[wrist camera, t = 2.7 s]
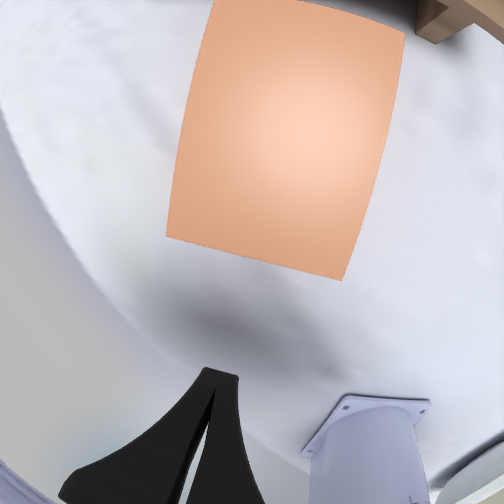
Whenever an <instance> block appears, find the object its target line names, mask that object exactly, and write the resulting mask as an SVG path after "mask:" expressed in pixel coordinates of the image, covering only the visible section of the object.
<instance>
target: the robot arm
mask: <svg viewBox="0 0 504 504" xmlns="http://www.w3.org/2000/svg"><path fill="white" fill-rule="evenodd" d="M238 381H239V377H238V376H237V375H234V374H230V373H226V372H222V371H219V370H215V369H211V368H208V367H205V368H203V369H202V371H201V373H200V374H199V376H198V377H197V379H196V380H195V382H194V383H193V384H192V386H191V387H190V388H189V389H188V391H187V392H186V393H185V394H184V395H183V396H182V398H181V399H180V400H179V401H178V402H177V403H176V404H175V405H174V406H173V407H172V409H170V411H168V412H167V413H166V414H165V415H164V416H163V417H162V418H161V419H160V420H159V421H158V422H156V423H155V424H154V425H153V426H152V427H151V428H149V429H148V430H147V431H145V432H144V433H143V434H142V435H140V436H139V437H137V438H136V439H135V440H133V441H132V442H130V443H129V444H127V445H126V446H124V447H122V448H121V449H119V450H117V451H115V452H114V453H112V454H110V455H108V456H106V457H104V458H103V459H101V460H98V461H96V462H94V463H92V464H89V465H87V466H85V467H82V468H80V469H77V470H75V471H74V472H73V473H72V474H71V475H70V476H69V477H68V478H67V480H66V481H65V482H64V484H63V486H62V488H61V490H60V492H59V494H58V497H59V498H60V499H61V500H63V501H64V502H66V503H67V504H178V503H179V500H180V496H181V493H182V490H183V487H184V483H185V480H186V477H187V474H188V470H189V468H190V465H191V462H192V460H193V458H194V455H195V453H196V451H197V448H198V446H199V444H200V441H201V439H202V437H203V434H204V432H205V429H206V427H207V425H208V429H207V435H206V440H205V445H204V449H203V452H202V455H201V458H200V462H199V464H198V468H197V471H196V474H195V477H194V480H193V483H192V486H191V489H190V493H189V496H188V499H187V502H186V504H265V502H264V500H263V498H262V496H261V494H260V491H259V489H258V486H257V484H256V482H255V479H254V476H253V473H252V471H251V468H250V464H249V461H248V458H247V454H246V450H245V446H244V442H243V437H242V432H241V426H240V418H239V410H238ZM430 407H431V402H430V401H419V400H396V399H382V398H370V397H360V396H346V397H344V398H343V399H342V400H341V401H340V403H339V404H338V406H337V407H336V408H335V410H334V411H333V413H332V414H331V415H330V417H329V418H328V419H327V421H326V422H325V423H324V425H323V426H322V427H321V428H320V430H319V431H318V432H317V433H316V435H315V436H314V437H313V438H312V440H311V441H310V442H309V443H308V445H307V446H306V447H305V448H304V449H303V451H302V452H301V456H302V457H304V458H311V468H310V494H309V504H430V498H429V493H428V487H427V482H426V477H425V472H424V467H423V463H422V458H421V454H420V450H419V446H418V441H417V438H416V434H415V430H414V426H413V425H414V424H415V423H416V422H417V421H418V420H419V419H420V418H421V417H422V416H423V415H424V414H425V413H426V412H427V411H428V410H429V408H430ZM208 422H209V423H208ZM0 504H57V503H55V502H54V501H52V500H50V499H49V498H48V497H46V496H45V495H43V494H42V493H40V492H39V491H38V490H36V489H35V488H33V487H32V486H31V485H30V484H28V483H27V482H26V481H24V480H23V479H22V478H21V477H19V476H18V475H17V474H16V473H15V472H13V471H12V470H11V469H10V468H9V467H8V466H6V465H5V463H4V462H3V461H2V460H0Z"/></svg>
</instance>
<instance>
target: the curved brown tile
mask: <svg viewBox="0 0 504 504" xmlns="http://www.w3.org/2000/svg"><path fill="white" fill-rule="evenodd" d="M473 23H475V24H477V25H478V26H480V27H481V28H483V29H484V30H485V31H487V32H488V33H490V34H491V35H492V36H494V37H495V38H496V39H497V40H499V41H500V42H501V43H503V44H504V0H418V1H417V19H416V31H415V34H416V35H418V36H420V37H422V38H424V39H426V40H428V41H430V42H432V43H434V44H437V43H439V42H441V41H442V40H444V39H446V38H448V37H449V36H451V35H453V34H455V33H456V32H458V31H460V30H462V29H464V28H465V27H467V26H469V25H471V24H473Z"/></svg>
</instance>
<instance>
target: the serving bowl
mask: <svg viewBox="0 0 504 504" xmlns="http://www.w3.org/2000/svg"><path fill="white" fill-rule="evenodd" d="M502 488H504V441H502V442H500V443H498V444H496V445H494V446H493V447H491V448H489V449H488V450H486V451H485V452H483V453H482V454H480V455H479V456H477V457H476V458H475V459H473V460H472V461H471V462H470V463H469V464H468V465H467V466H466V467H464V468H463V469H462V470H461V471H459V472H458V473H457V474H456V475H455V476H454V477H452V478H451V479H450V480H449V481H448V482H447V484H446V485H445V486H444V487H443V489H442V490H441V492H440V494H439V495H438V498H437V500H436V504H476V503H478V502H480V501H482V500H484V499H485V498H487V497H489V496H491V495H493V494H494V493H496V492H497V491H499V490H500V489H502Z"/></svg>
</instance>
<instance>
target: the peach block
mask: <svg viewBox="0 0 504 504" xmlns="http://www.w3.org/2000/svg"><path fill="white" fill-rule="evenodd" d="M404 39H405V33H403V32H401V31H399V30H396V29H394V28H391V27H389V26H386V25H384V24H381V23H378V22H376V21H373V20H370V19H367V18H364V17H361V16H358V15H355V14H352V13H348V12H345V11H342V10H338V9H334V8H330V7H327V6H322V5H318V4H314V3H309V2H304V1H299V0H215V1H214V4H213V7H212V10H211V13H210V16H209V19H208V23H207V26H206V29H205V33H204V36H203V40H202V43H201V47H200V50H199V54H198V58H197V62H196V66H195V70H194V74H193V78H192V82H191V86H190V91H189V95H188V100H187V104H186V109H185V114H184V119H183V124H182V129H181V134H180V140H179V145H178V151H177V157H176V163H175V170H174V176H173V183H172V190H171V198H170V205H169V214H168V222H167V232H166V237H170V238H174V239H178V240H182V241H186V242H190V243H194V244H197V245H201V246H205V247H209V248H213V249H217V250H221V251H225V252H229V253H233V254H236V255H240V256H244V257H248V258H252V259H256V260H260V261H264V262H268V263H272V264H276V265H280V266H284V267H288V268H292V269H296V270H300V271H304V272H308V273H312V274H316V275H320V276H324V277H328V278H332V279H336V280H340V281H342V279H343V276H344V274H345V271H346V268H347V266H348V263H349V260H350V257H351V255H352V252H353V249H354V246H355V243H356V240H357V238H358V235H359V232H360V229H361V226H362V223H363V220H364V217H365V213H366V210H367V207H368V204H369V201H370V197H371V194H372V191H373V187H374V184H375V180H376V177H377V173H378V169H379V166H380V162H381V158H382V154H383V150H384V146H385V142H386V138H387V134H388V130H389V125H390V121H391V116H392V111H393V107H394V102H395V97H396V91H397V86H398V80H399V74H400V68H401V61H402V54H403V47H404Z"/></svg>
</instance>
